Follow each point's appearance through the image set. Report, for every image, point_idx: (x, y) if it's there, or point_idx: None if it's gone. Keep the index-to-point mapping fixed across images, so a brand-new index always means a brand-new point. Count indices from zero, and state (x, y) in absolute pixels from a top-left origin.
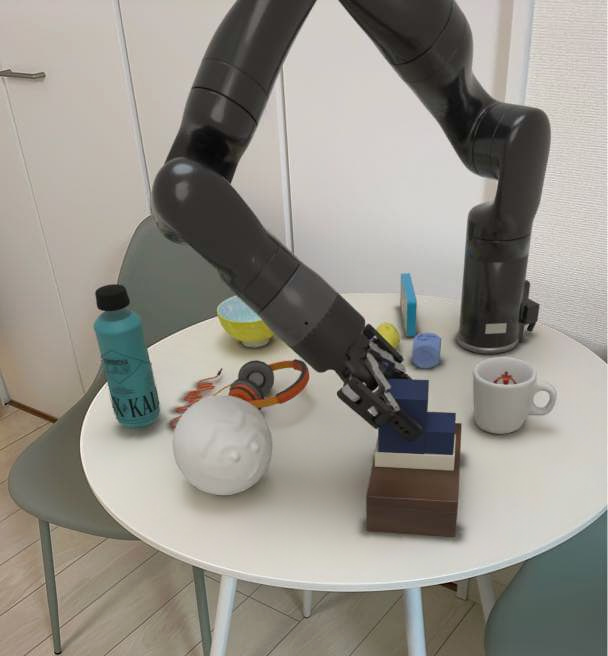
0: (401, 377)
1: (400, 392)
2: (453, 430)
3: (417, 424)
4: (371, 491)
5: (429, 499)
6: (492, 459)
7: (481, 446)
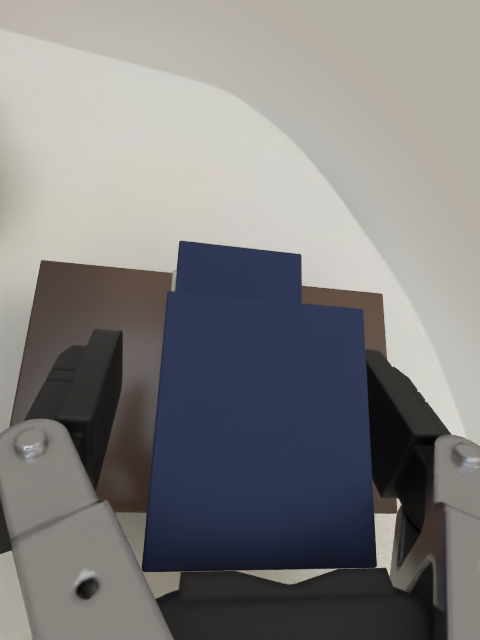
0: (81, 445)
1: (307, 440)
2: (290, 256)
3: (379, 363)
4: (376, 500)
5: (385, 353)
6: (83, 229)
7: (27, 245)
